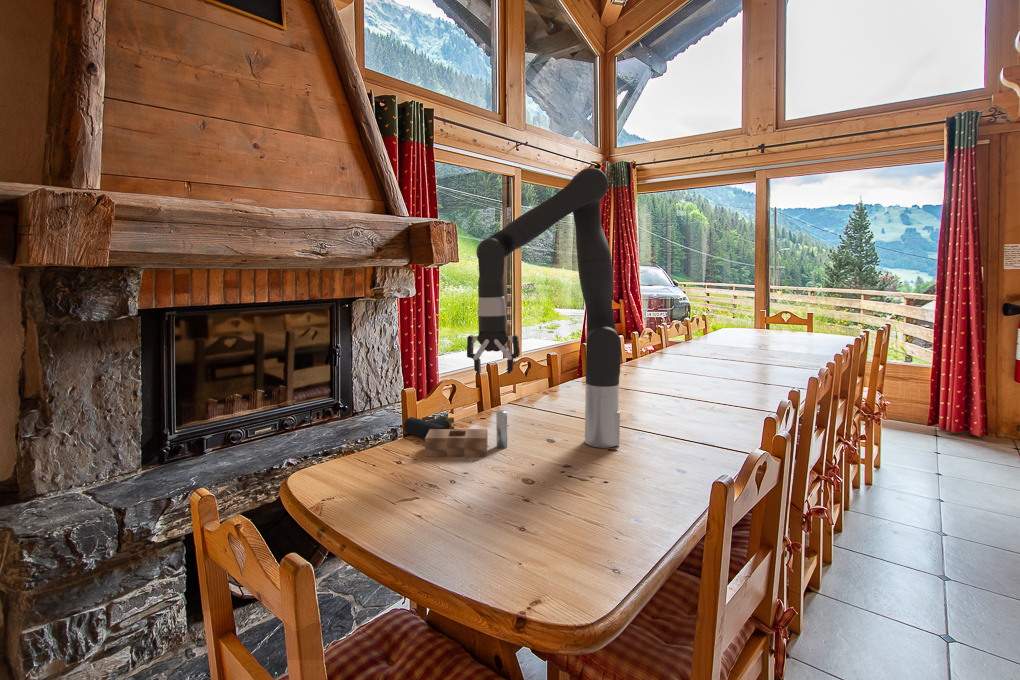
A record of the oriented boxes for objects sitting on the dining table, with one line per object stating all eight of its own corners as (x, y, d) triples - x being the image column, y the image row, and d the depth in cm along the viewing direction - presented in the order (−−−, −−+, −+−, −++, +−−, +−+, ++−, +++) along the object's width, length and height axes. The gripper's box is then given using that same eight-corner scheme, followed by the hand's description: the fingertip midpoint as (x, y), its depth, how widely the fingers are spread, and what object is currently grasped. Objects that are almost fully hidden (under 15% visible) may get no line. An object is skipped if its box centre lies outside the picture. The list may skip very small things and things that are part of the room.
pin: (507, 444, 151) (507, 410, 149) (507, 448, 148) (507, 413, 146) (496, 444, 151) (496, 410, 149) (496, 448, 148) (496, 413, 146)
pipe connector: (433, 410, 168) (466, 419, 158) (434, 426, 169) (466, 436, 159) (403, 418, 160) (436, 428, 150) (404, 435, 161) (437, 446, 151)
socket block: (487, 446, 149) (487, 429, 148) (486, 456, 141) (485, 438, 141) (430, 446, 149) (429, 429, 149) (425, 456, 141) (424, 438, 141)
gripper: (520, 312, 147) (521, 370, 149) (469, 313, 149) (471, 370, 151) (516, 314, 140) (517, 375, 142) (462, 315, 142) (465, 375, 144)
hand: (493, 373), depth 147 cm, fingers open, 8 cm apart
